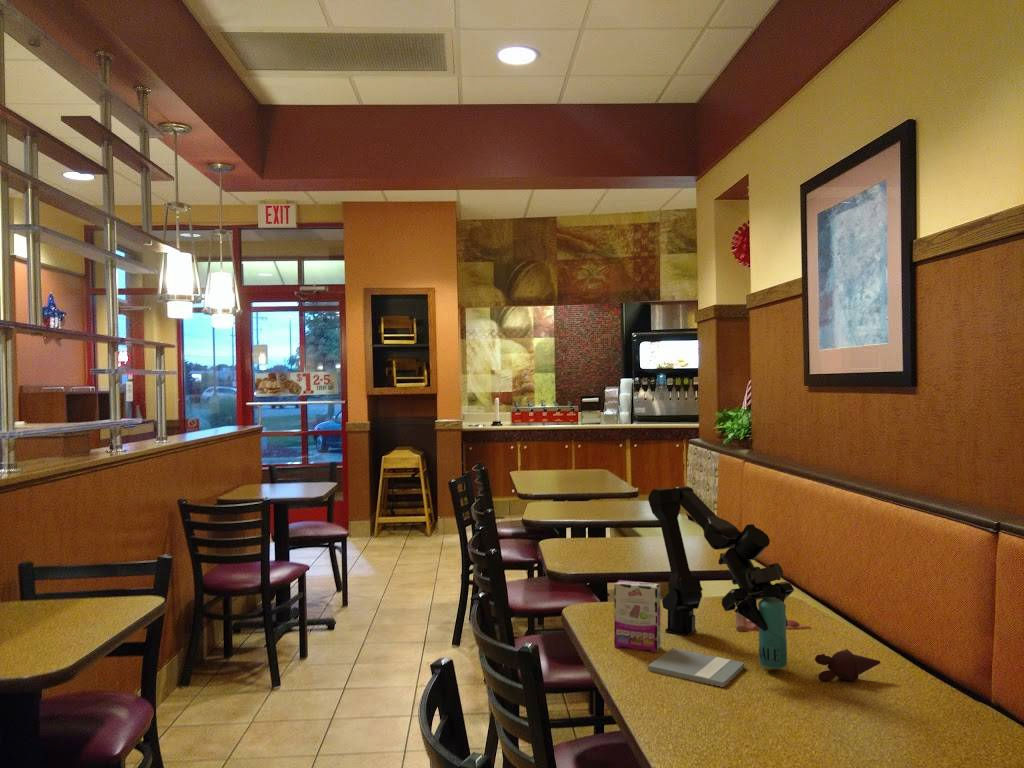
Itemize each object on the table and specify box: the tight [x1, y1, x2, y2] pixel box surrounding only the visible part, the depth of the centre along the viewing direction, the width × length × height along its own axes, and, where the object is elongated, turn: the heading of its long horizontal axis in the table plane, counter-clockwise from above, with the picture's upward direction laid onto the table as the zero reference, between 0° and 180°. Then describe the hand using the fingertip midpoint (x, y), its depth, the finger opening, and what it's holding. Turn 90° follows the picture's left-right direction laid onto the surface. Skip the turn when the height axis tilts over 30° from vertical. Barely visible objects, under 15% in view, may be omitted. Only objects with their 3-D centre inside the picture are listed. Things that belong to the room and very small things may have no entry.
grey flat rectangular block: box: [647, 647, 745, 688], centre depth 182 cm, size 18×15×1 cm
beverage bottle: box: [757, 583, 788, 669], centre depth 181 cm, size 6×7×20 cm
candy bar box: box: [613, 579, 662, 653], centre depth 197 cm, size 11×5×16 cm, turn 68°
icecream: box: [814, 648, 881, 682], centre depth 176 cm, size 7×7×15 cm
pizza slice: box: [735, 612, 812, 632], centre depth 217 cm, size 18×2×20 cm
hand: (776, 628), depth 180 cm, fingers open, 6 cm apart
